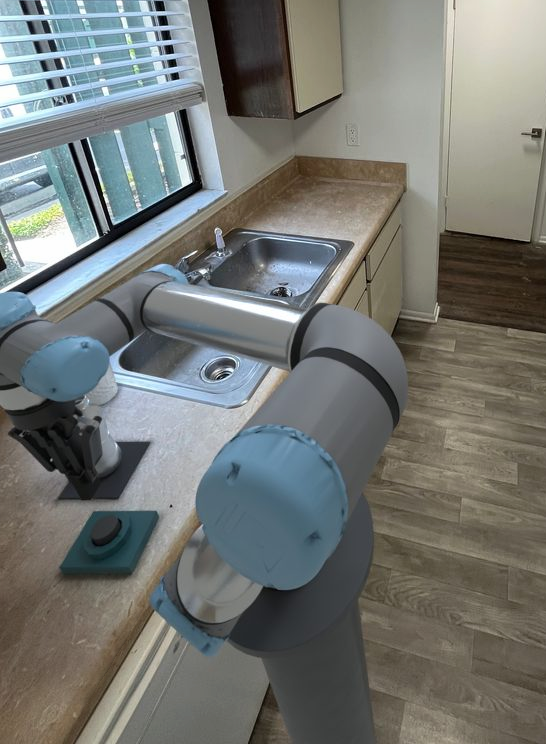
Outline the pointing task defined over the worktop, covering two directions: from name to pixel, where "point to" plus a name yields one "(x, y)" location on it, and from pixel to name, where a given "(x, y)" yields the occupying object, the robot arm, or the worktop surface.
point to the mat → (114, 473)
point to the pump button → (105, 530)
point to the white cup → (104, 389)
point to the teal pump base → (111, 545)
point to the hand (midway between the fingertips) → (91, 491)
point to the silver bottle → (109, 447)
